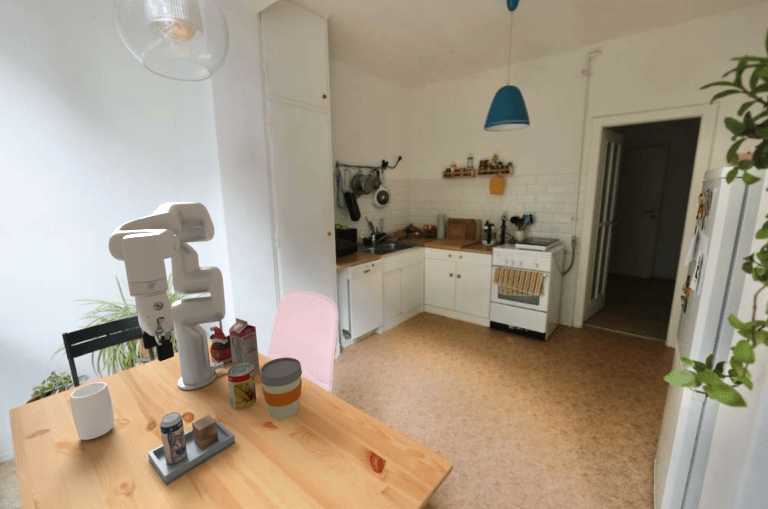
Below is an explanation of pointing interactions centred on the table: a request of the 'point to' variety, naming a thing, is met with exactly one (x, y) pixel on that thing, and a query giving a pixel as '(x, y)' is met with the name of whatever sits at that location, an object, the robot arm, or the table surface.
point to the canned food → (241, 386)
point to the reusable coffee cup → (281, 386)
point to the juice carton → (244, 344)
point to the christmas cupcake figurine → (220, 345)
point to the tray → (189, 454)
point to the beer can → (173, 437)
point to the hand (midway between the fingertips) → (159, 352)
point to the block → (205, 432)
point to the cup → (92, 410)
